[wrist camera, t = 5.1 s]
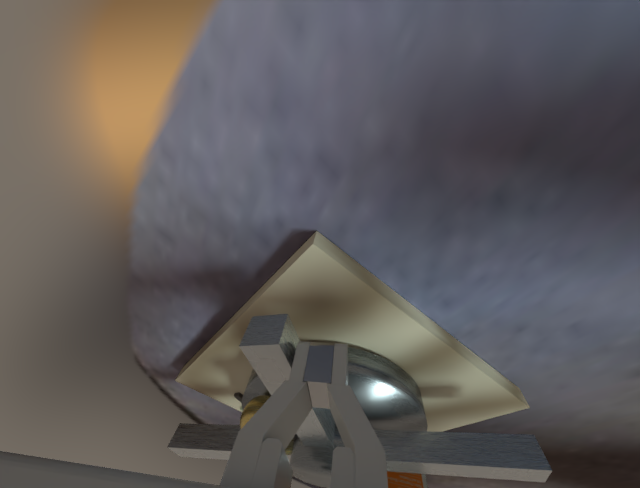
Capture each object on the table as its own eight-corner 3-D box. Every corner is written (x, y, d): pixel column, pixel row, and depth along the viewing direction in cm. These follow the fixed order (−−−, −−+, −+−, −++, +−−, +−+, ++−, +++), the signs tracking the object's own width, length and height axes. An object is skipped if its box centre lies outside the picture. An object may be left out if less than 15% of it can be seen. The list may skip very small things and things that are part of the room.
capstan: (523, 397, 14) (578, 495, 11) (359, 461, 23) (360, 527, 20) (277, 266, 11) (243, 346, 8) (192, 396, 20) (158, 462, 16)
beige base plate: (519, 388, 16) (532, 411, 15) (341, 444, 25) (341, 462, 24) (316, 230, 12) (312, 246, 11) (183, 366, 20) (173, 383, 19)
